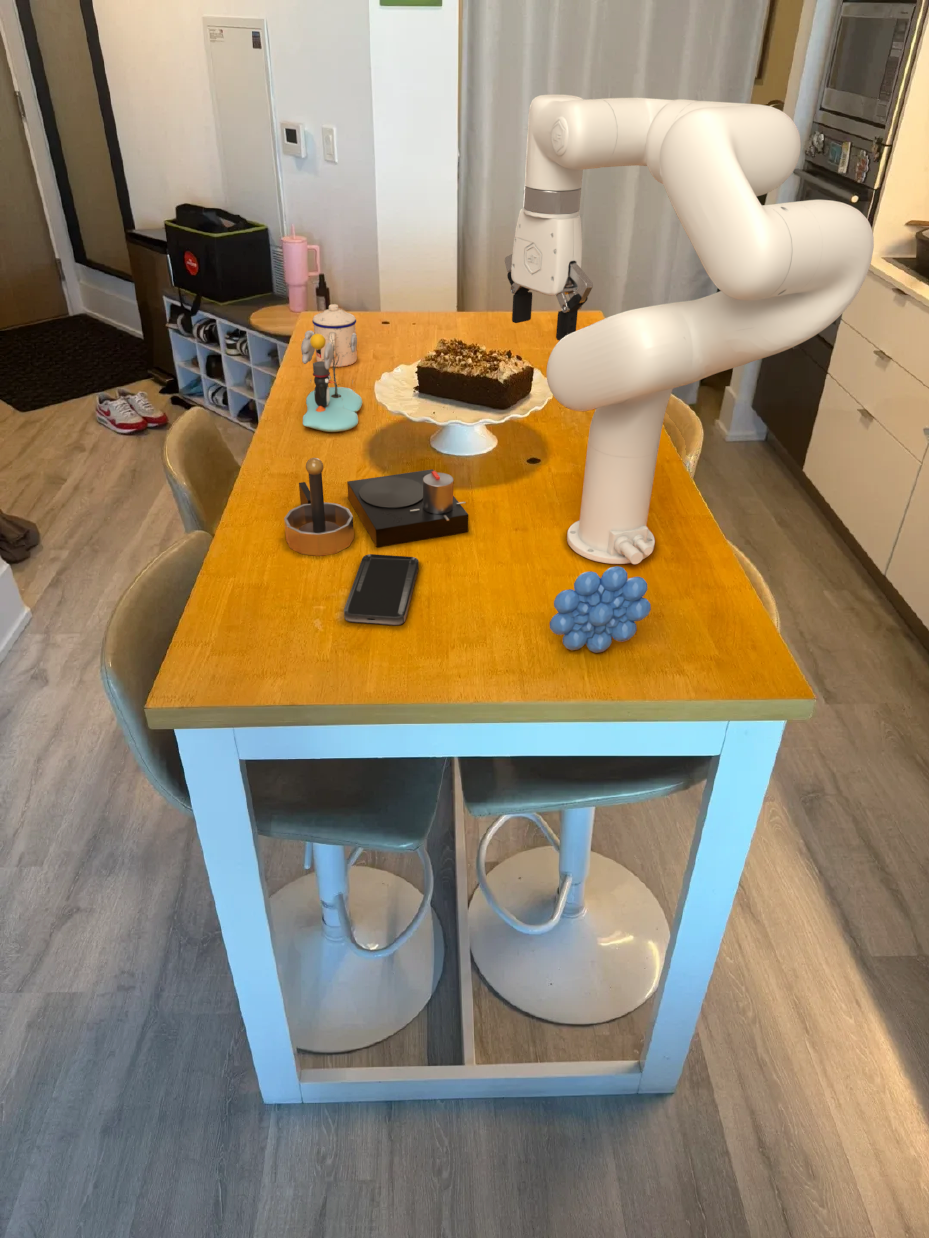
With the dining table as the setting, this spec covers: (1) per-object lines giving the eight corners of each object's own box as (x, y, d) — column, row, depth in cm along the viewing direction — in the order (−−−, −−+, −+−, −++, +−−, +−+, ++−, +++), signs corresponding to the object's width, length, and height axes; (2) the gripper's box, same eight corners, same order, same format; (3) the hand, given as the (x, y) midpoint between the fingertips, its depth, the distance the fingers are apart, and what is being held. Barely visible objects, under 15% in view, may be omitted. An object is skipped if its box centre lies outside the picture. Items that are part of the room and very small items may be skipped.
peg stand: (347, 546, 129) (342, 465, 122) (303, 553, 127) (295, 471, 120) (336, 525, 134) (331, 446, 127) (293, 532, 132) (285, 452, 125)
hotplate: (475, 534, 133) (475, 515, 131) (378, 550, 128) (377, 531, 127) (437, 485, 146) (437, 467, 144) (348, 498, 141) (347, 480, 140)
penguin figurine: (356, 437, 161) (352, 353, 152) (296, 436, 160) (288, 351, 152) (365, 396, 177) (362, 317, 169) (310, 395, 177) (304, 316, 168)
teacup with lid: (317, 353, 197) (313, 298, 191) (359, 354, 197) (357, 299, 191) (311, 372, 187) (307, 315, 181) (355, 373, 188) (352, 316, 181)
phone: (419, 557, 125) (403, 618, 112) (419, 564, 125) (403, 625, 113) (363, 553, 125) (341, 614, 113) (363, 560, 126) (341, 621, 114)
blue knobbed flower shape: (638, 632, 113) (651, 549, 107) (646, 665, 108) (660, 579, 101) (545, 629, 113) (552, 546, 107) (548, 662, 108) (556, 576, 101)
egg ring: (360, 549, 129) (359, 524, 126) (294, 560, 126) (292, 535, 123) (333, 501, 140) (332, 478, 138) (273, 510, 138) (270, 486, 135)
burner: (434, 502, 134) (434, 501, 134) (369, 512, 131) (369, 511, 131) (413, 474, 142) (413, 473, 142) (351, 483, 139) (351, 482, 139)
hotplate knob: (457, 511, 132) (457, 481, 129) (428, 516, 131) (428, 486, 128) (447, 498, 136) (447, 469, 133) (419, 502, 134) (418, 473, 131)
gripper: (489, 194, 125) (485, 319, 135) (575, 215, 114) (563, 351, 123) (531, 189, 129) (524, 311, 138) (617, 210, 117) (603, 341, 127)
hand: (542, 329), depth 131 cm, fingers open, 9 cm apart
